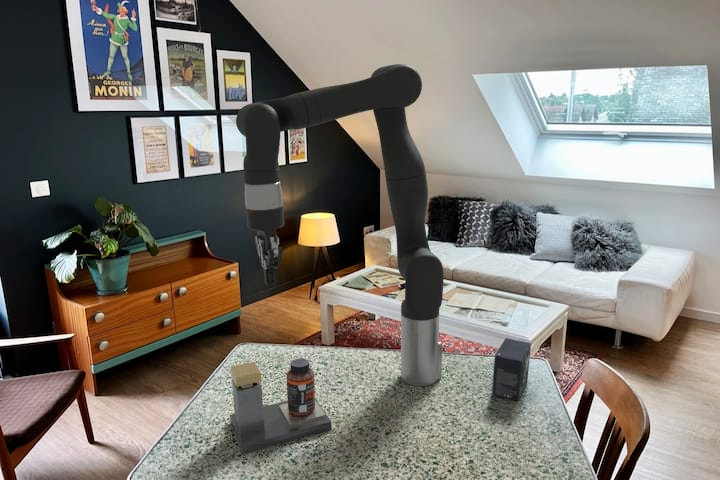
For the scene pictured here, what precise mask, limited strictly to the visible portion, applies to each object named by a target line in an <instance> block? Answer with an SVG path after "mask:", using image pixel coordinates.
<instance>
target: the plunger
mask: <svg viewBox="0 0 720 480" xmlns="http://www.w3.org/2000/svg"><path fill="white" fill-rule="evenodd" d="M230 374H231V377H232V380H234V382H235V385H236V387H238V386H241V389H243V388H248V387H252V386H253V383H256V382H260V383H261V382H262V374H261V370H260V369H259V367H258V366H257V364H256V361H252V362H247V363H243V364H239V365H232V366H230Z"/></svg>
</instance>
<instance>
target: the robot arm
mask: <svg viewBox="0 0 720 480" xmlns="http://www.w3.org/2000/svg"><path fill="white" fill-rule="evenodd" d="M422 90H423V80H422V77H421V75H420V73H419V72H418V71H417V70H416V69H415V68H414V67H413V66H411V65H408V64H405V63H396V64H390V65H386V66H385V65H384V66H380V67H379V68H377V69H375V70H374V71H373V72H372V73H371V76H370V77H367V78H364V79H361V80H357V81H354V82H353V81H351V82H347V83H342V84H336V85H329V86H323V87H318V88H313V89H309V90H305V91H301V92H297V93H293V94H290V95H288V96H284V97H280V98H275V99H274V98H273V99H269V100H262V101H257V102H253V103H248V104H245V105H244V106H242V107H241V108H240V109H239V111H238V113H237V114H236V117H235V124H236V127H237V130H238V131H239V133H240V134H241V135H242V136H244V137H245V149H246V150H245V151H246V152H245V156H244V157H243V164H242V165H243V167H242V168H243V177H244V203H245V205H244V206H245V213H246V223H247V224H246V225H247V228H248V229H249V230H251V231H256V235H255V236H254V237H253V238H254V243H255V248H256V251H257V255H258V259H259V260H258V261H259V263H260V264H261V267H262V268H263V276H264V284H265V285H266V286H267V287H269V288H270V287H274V286H277V284H278V279H277V269H278V268H280V266H281V260H282V255H283V249H282V247H279V245H280V238H279V236H278V235H277V230H278V229H281V228H282V227H284V226H285V213H284V199H283V190H282V187H281V179H280V178H281V177H280V176H281V175H280V165H279V152H280V146H281V145H280V144H281V133H282V132H285V131H291V130H292V131H293V130H294V131H297V130H302V129H303V130H304V129H307V128H311V127H315V126H318V125H321V124H325V123H328V122H332V121H335V120H339V119H343V118H345V117H348V116H351V115H356V114H359V113H363V112H367V111H372V112H373V115H374V116H373V117H374V121H375V123H376V127H377V131H378V137H379V141H380V142H379V143H380V150H381V151H380V152H381V156H382V160H383V161H382V162H383V168H384V175H385V176H384V178H385V183H386V184H385V185H386V189H387V190H386V192H387V195H388V200H389V201H388V202H389V205H390V210H391V216H392V219H393V223H394V229H395V237H396V238H395V239H396V254H397V255H396V257H397V258H396V259H397V269H398V272H399V274H400V276H401V277H402V278H403V280H404V281H405V283H404V284H405V285H404V287H405V288H404V291H405V292H404V300H402V302H401V303H400V304H401V305H400V365H401V366H400V377H401V380H402V381H403V382H404V383H406V384H408V385H411V386H415V387H426V386H427V387H428V386H431V385H433V384H435V383H436V382H437V381H439V380H441V379H442V374H443V371H442V366H443V363H442V362H443V344H442V342H441V341H440V337H439V336H440V308H441V306H442V303H443V296H444V295H443V294H444V280H445V279H444V277H445V275H444V266H443V263H442V261H441V259H440V258H439V257H438V256H436V254H434V253H433V252H432V251H431V248H430V244H429V239H428V236H427V232H426V231H427V230H426V214H427V208H428V200H429V189H428V180H427V174H426V168H425V163H424V160H423V158H422V155H421V153H420V151H419V148H418V147H417V145H416V143H415V141H414V139H413V137H412V135H411V132H410V131H409V126H408V122H407V115H406V114H407V113H406V108H407V107H410V106H411V105H413V104H414V103H416V102H417V101H418V99H419V97H420V96H421V94H422Z"/></svg>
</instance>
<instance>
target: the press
mask: <svg viewBox="0 0 720 480" xmlns="http://www.w3.org/2000/svg"><path fill="white" fill-rule="evenodd" d="M231 386H232V387H231V388H232V398H233V409H234V413H233V414H229V419H230V425H231V428H232V431H233V433H234V435H235V438H236V440H237V443H238V445H239V448H240V451H241V453H242V455H246V454H250V453H253V452H256V451H260V450H263V449H267V448H271V447H274V446H277V445H281V444H285V443H289V442H293V441H296V440H298V439H299V440H301V439H302V438H306V437H310V436H314V435H318V434H321V433H324V432H328V431H332V420H331V419H330V417H329V416H328V415H327V413H326V412H325V410H324V409H323V408H322V406H321V405H320V403H319V402H318V400H317V399H316V398H315V409H314V410H313V412H311V413H310V414H308V415H304V416H297V415H293V414H291V413H290V412H289V410H288V400H285V401H281V402H277V403H273V404H269V405H265V406H264V403H263V400H264V399H263V390H262V389H263V387H262V384H261V381H260V382H256V383H253V386H252V387H248V388H243V389H241V386H238V387H236V385H235V382H234V380H233V379H232V380H231Z"/></svg>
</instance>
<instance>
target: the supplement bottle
mask: <svg viewBox="0 0 720 480" xmlns="http://www.w3.org/2000/svg"><path fill="white" fill-rule="evenodd" d="M315 393H316V392H315V373H314V371H313V369H312V368H310V361H309V360H308V359H306V358H303V357H302V358H294V359H293V360H291V361H290V367H289V370H288V371H287V373H286V395H287V396H286V397H287V401H288V410H289V412H290V413H291V414H293V415H297V416H304V415H308V414H310V413H311V412H313V410H314V409H315V399H316V395H315Z"/></svg>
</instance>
